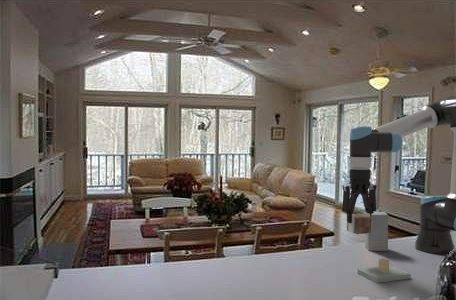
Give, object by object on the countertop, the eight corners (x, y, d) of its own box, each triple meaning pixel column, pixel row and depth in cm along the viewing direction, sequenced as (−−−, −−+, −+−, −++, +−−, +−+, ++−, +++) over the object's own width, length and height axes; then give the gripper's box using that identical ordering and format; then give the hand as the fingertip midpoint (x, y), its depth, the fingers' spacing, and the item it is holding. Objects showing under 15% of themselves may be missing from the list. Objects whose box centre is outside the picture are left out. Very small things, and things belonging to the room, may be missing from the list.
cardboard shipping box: (360, 229, 159) (360, 213, 158) (370, 233, 153) (371, 216, 153) (347, 230, 157) (347, 214, 156) (357, 234, 151) (357, 217, 151)
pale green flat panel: (389, 269, 151) (390, 254, 151) (410, 278, 142) (411, 262, 141) (357, 273, 146) (357, 257, 146) (377, 282, 137) (377, 266, 137)
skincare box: (384, 247, 181) (384, 211, 181) (388, 252, 174) (389, 214, 174) (363, 246, 182) (364, 210, 182) (367, 251, 175) (368, 213, 175)
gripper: (374, 167, 161) (373, 227, 162) (332, 168, 154) (331, 230, 155) (388, 168, 154) (386, 231, 154) (344, 169, 147) (343, 235, 148)
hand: (358, 231), depth 155 cm, fingers closed on cardboard shipping box, 6 cm apart
